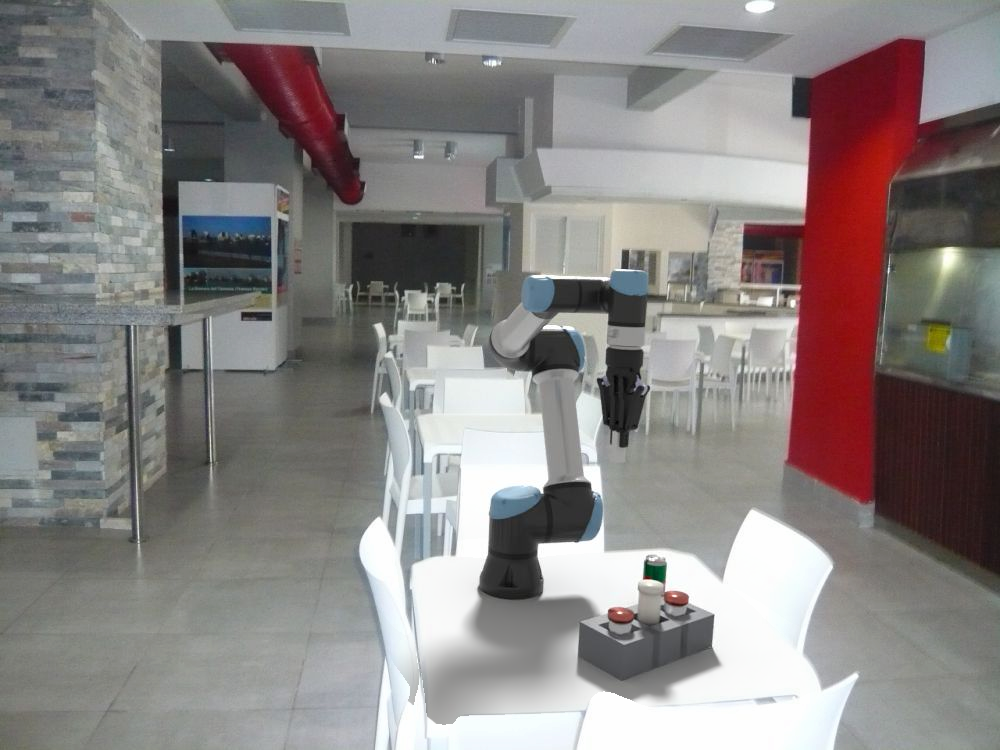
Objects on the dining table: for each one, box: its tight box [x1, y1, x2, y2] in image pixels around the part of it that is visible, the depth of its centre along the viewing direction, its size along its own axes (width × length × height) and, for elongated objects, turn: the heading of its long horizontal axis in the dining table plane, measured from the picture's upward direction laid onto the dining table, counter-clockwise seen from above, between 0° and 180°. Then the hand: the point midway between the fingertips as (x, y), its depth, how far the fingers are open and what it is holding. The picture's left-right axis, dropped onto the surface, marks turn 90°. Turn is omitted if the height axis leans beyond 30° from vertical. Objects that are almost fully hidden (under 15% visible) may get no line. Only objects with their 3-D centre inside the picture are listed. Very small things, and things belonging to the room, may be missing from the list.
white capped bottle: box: [637, 579, 664, 627], centre depth 174 cm, size 5×5×9 cm
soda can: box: [642, 554, 668, 597], centre depth 195 cm, size 5×5×12 cm
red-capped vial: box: [607, 606, 634, 636], centre depth 169 cm, size 5×5×9 cm
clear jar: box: [664, 590, 690, 618], centre depth 179 cm, size 5×5×9 cm
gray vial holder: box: [577, 597, 715, 681], centre depth 174 cm, size 26×12×7 cm, turn 128°
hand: (617, 461), depth 179 cm, fingers closed
